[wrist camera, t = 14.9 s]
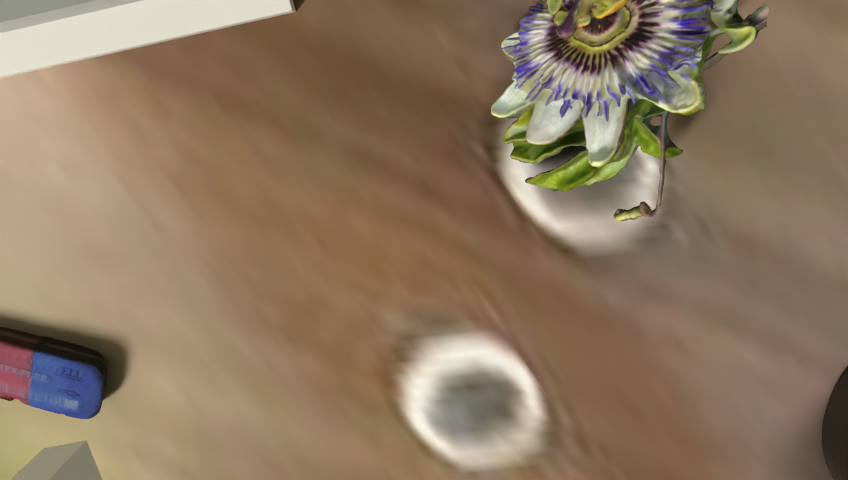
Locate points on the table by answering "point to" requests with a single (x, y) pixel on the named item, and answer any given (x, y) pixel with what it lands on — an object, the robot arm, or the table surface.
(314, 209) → the table surface
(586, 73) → the passion flower
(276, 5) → the socket board
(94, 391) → the eraser
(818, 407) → the table surface
